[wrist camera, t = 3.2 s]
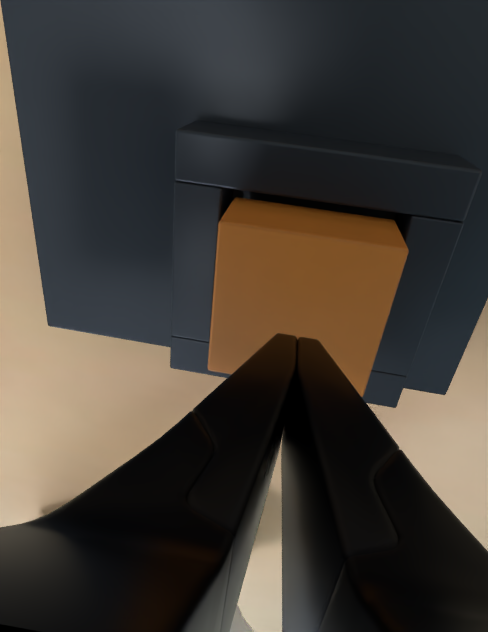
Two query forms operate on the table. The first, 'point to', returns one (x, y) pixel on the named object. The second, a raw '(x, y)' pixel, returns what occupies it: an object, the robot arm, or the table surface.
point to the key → (303, 283)
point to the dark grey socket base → (253, 156)
